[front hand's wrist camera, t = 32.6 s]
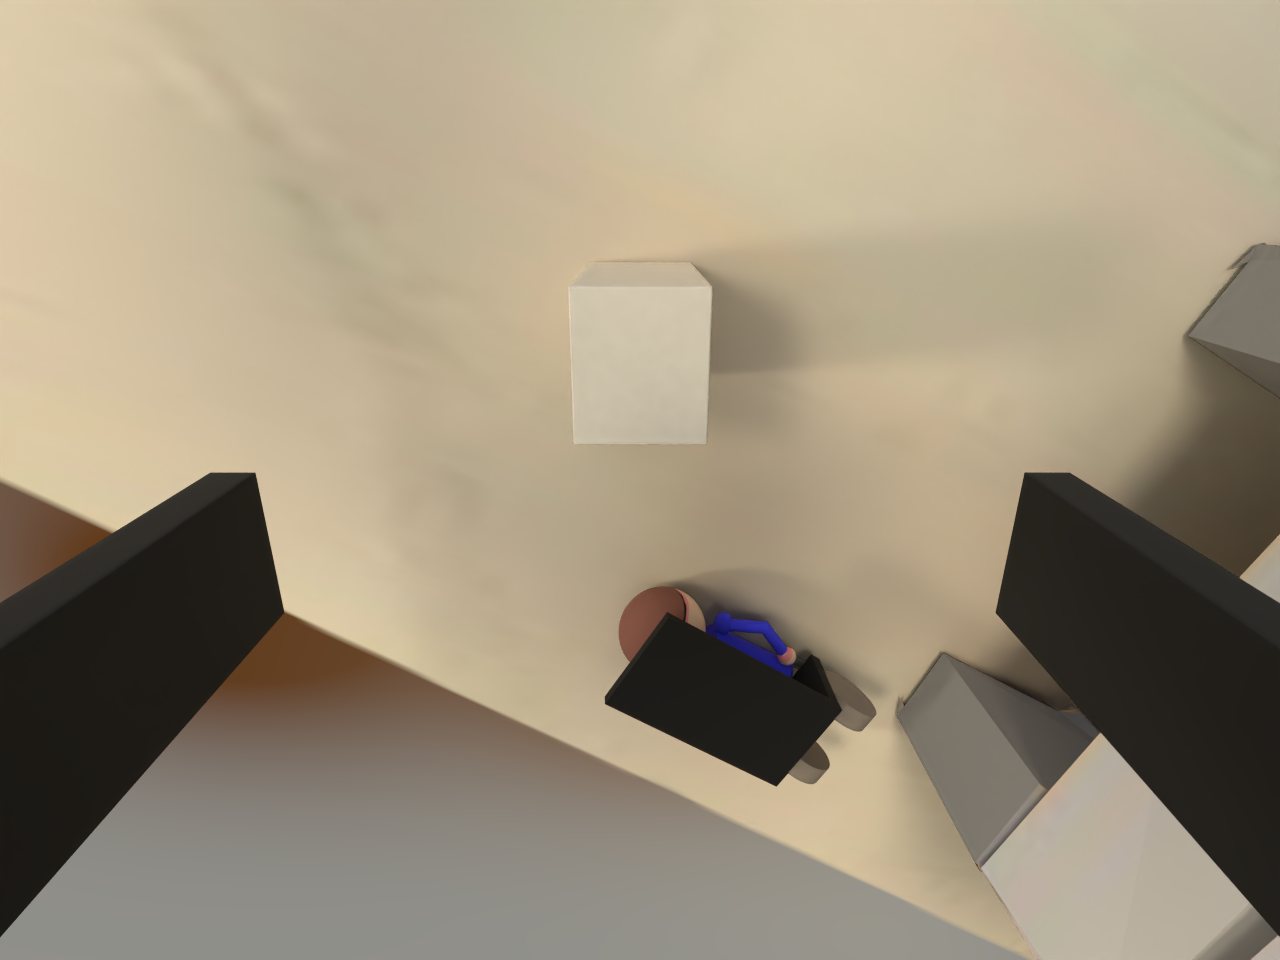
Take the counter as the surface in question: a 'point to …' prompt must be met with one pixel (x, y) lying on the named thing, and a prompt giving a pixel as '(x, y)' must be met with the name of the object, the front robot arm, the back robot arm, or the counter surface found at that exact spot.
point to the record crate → (1096, 767)
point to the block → (640, 354)
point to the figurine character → (730, 688)
